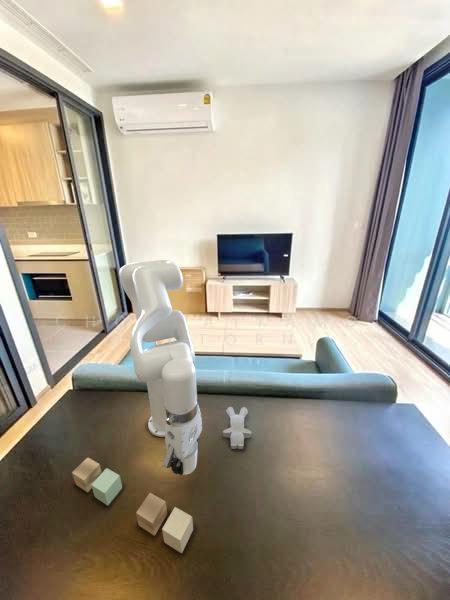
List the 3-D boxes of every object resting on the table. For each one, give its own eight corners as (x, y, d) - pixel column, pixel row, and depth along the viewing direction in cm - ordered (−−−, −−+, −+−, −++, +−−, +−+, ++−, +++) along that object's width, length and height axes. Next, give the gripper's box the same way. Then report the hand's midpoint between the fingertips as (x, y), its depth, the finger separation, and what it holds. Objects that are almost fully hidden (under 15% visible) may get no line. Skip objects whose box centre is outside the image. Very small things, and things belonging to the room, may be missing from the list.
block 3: (152, 505, 66) (149, 492, 64) (167, 514, 64) (165, 501, 62) (138, 525, 61) (135, 512, 60) (154, 536, 59) (152, 523, 58)
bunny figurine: (222, 442, 78) (224, 402, 92) (222, 452, 81) (224, 412, 94) (252, 443, 78) (250, 403, 91) (251, 452, 80) (249, 412, 94)
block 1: (91, 469, 75) (87, 457, 73) (102, 476, 73) (99, 464, 71) (75, 484, 71) (71, 472, 69) (87, 492, 69) (83, 480, 67)
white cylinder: (194, 479, 63) (193, 461, 61) (169, 474, 65) (166, 455, 62) (202, 454, 69) (201, 436, 67) (178, 449, 71) (177, 432, 68)
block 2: (109, 480, 72) (106, 467, 70) (122, 487, 70) (119, 475, 68) (94, 497, 68) (91, 484, 66) (107, 505, 66) (104, 493, 64)
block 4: (176, 519, 63) (174, 506, 61) (193, 529, 61) (192, 516, 59) (163, 542, 58) (161, 529, 57) (181, 553, 56) (180, 540, 55)
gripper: (173, 444, 51) (178, 498, 57) (212, 389, 65) (213, 437, 72) (144, 430, 54) (152, 484, 60) (188, 381, 68) (191, 428, 75)
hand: (185, 458), depth 66 cm, fingers closed on white cylinder, 6 cm apart
